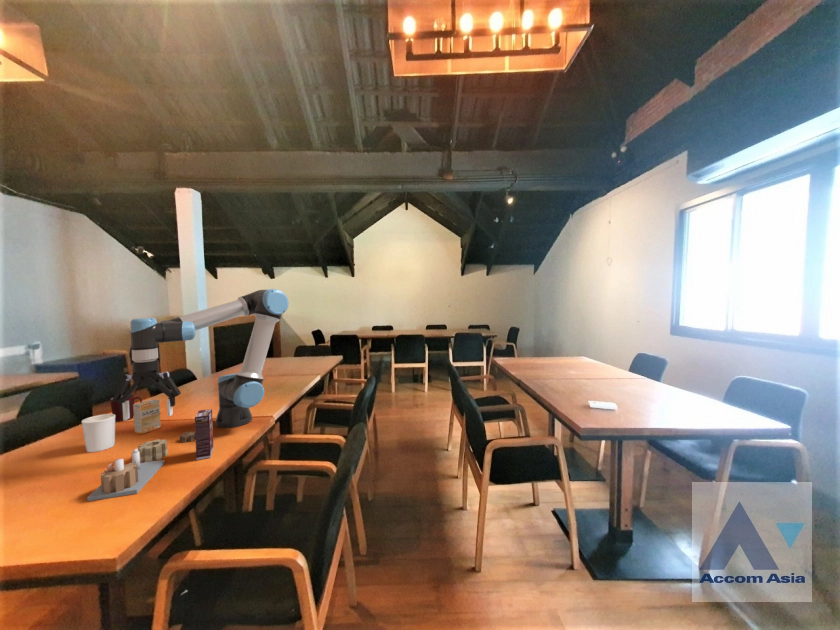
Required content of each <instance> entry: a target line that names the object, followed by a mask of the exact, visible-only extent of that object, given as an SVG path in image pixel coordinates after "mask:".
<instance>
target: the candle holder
mask: <svg viewBox="0 0 840 630" xmlns="http://www.w3.org/2000/svg"><path fill="white" fill-rule="evenodd" d="M115 416H116V415H115V414H112V413H103V414H98V415H97V414H96V415H93V416H90V417H86V418H84V419H82V420H81V426H82V433H83V440H84V445H85V451H86V453H87V452H88V453H96V452H101V451H106V450H108V449H110V448H113V447H114V446H115V444H116V422H115ZM105 449H106V450H105Z"/></svg>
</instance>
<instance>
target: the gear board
mask: <svg viewBox="0 0 840 630" xmlns="http://www.w3.org/2000/svg"><path fill="white" fill-rule="evenodd" d="M124 461H125V460H124V458H118V459H116V460H114V463H108V464H106V469H105V470H104V472H101V473H100V484H101V485H99V486H98V487H97V488H96V489H95V490H93V491H92V492H91V493H90V494H89V495H88V496H87V497H86V501H87V502H91V501H97V500H98V501H99V500H105V499H111V498H116V497H117V498H119V497H124V496H129V495H137V494H138V493H139V492H140V491H141V490H142V489H143V488H144V486H146V484H147V483H149V481H150V480H151V479H152V477H154V475H155V474H156V473H157V472H158V471H159V470H160V469H161V468H162V467H163V466H164V464H165V459H159V460H153V461H152V462H145V461H144V462H140V453H139V451H138V448H135V449H133V450H132V452H131V462H129V463H126V464H125V462H124Z"/></svg>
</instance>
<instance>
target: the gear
mask: <svg viewBox="0 0 840 630" xmlns="http://www.w3.org/2000/svg"><path fill="white" fill-rule="evenodd" d="M178 437H179V442H180V443H182V444H183V443H187V442H193V441H195V440H196V435H195V430H191V431H187V432H186V431H185V432H183V433H182V434H179V436H178Z"/></svg>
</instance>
